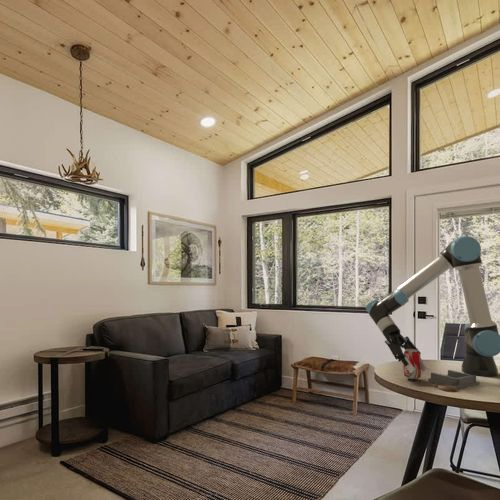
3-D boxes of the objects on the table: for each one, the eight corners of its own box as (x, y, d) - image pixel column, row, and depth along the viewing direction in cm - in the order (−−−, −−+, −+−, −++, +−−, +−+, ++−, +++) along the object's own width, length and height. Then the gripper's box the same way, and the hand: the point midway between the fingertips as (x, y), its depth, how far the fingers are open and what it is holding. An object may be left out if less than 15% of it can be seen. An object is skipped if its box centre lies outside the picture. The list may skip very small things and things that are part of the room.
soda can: (420, 380, 171) (420, 351, 172) (403, 378, 174) (402, 350, 175) (421, 376, 177) (420, 349, 178) (404, 375, 180) (403, 348, 181)
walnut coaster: (445, 386, 165) (445, 383, 165) (461, 390, 159) (461, 387, 159) (434, 388, 162) (434, 385, 162) (449, 392, 156) (449, 389, 156)
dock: (448, 377, 180) (448, 369, 180) (479, 385, 167) (479, 376, 168) (428, 381, 173) (427, 372, 173) (458, 389, 161) (458, 379, 161)
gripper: (399, 332, 195) (429, 373, 180) (369, 334, 185) (398, 378, 170) (407, 322, 191) (439, 363, 175) (377, 324, 181) (408, 367, 166)
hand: (419, 370), depth 173 cm, fingers closed on soda can, 7 cm apart
